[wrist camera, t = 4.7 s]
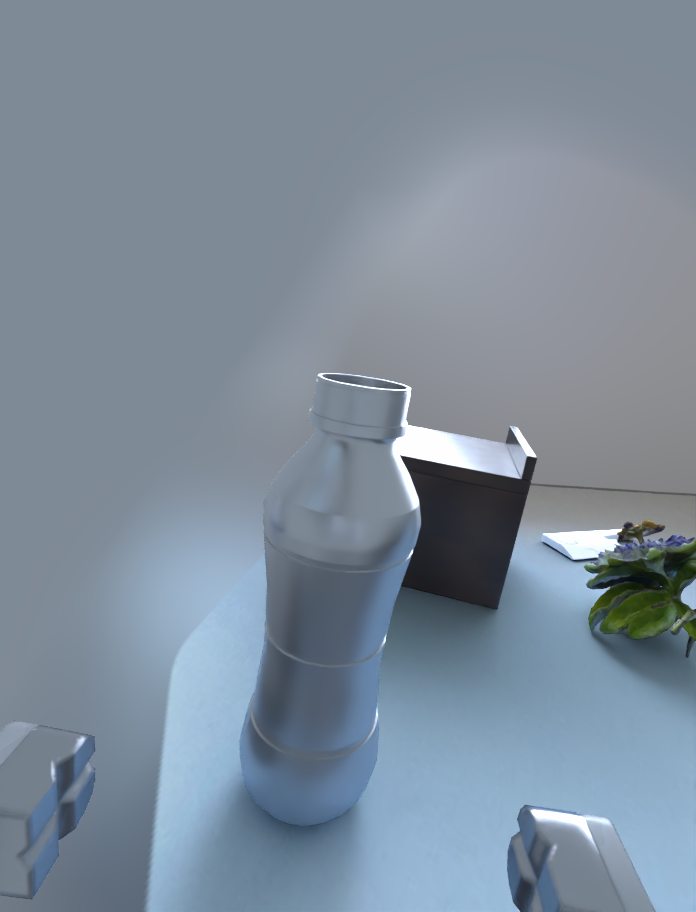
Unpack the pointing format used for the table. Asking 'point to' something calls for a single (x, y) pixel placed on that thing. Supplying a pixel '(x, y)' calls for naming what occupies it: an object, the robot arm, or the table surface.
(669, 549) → the passion flower
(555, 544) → the white plastic strip tool
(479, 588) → the block with raised lip
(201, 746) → the table surface
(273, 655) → the plastic bottle
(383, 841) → the table surface
